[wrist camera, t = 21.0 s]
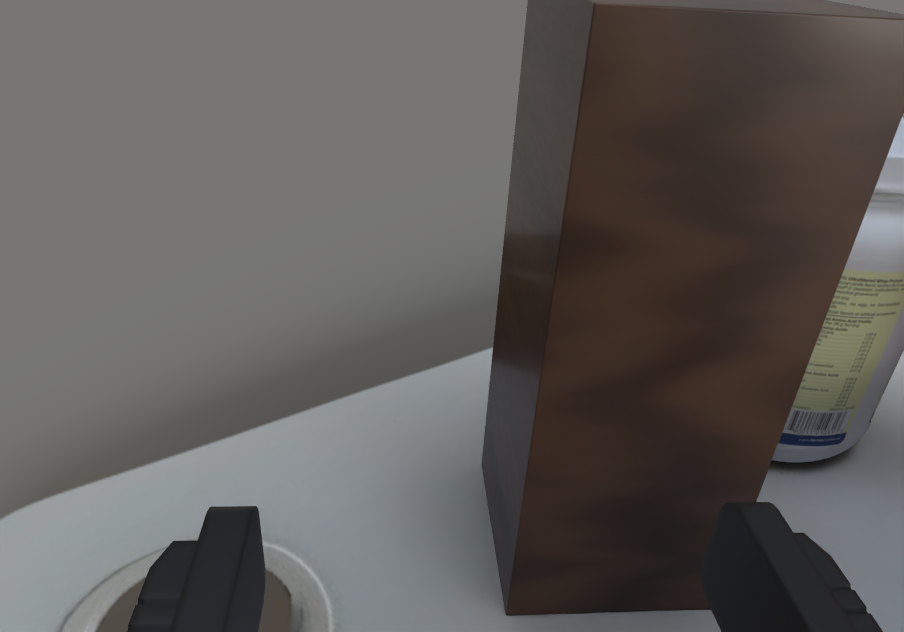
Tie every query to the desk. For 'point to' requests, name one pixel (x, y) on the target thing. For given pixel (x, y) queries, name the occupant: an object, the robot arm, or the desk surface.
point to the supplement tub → (856, 331)
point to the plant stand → (668, 275)
